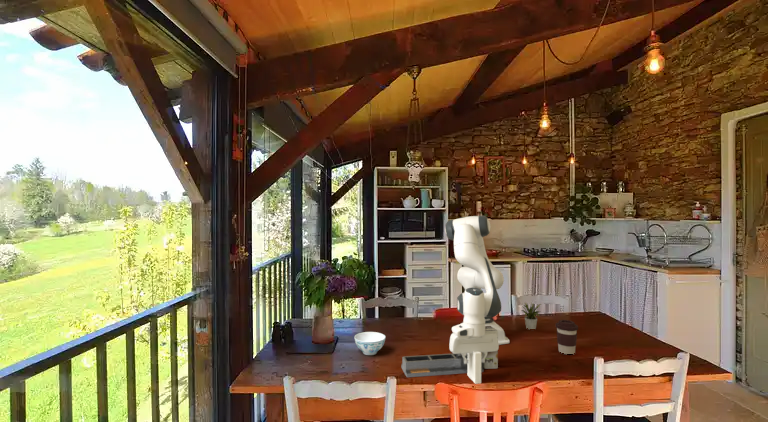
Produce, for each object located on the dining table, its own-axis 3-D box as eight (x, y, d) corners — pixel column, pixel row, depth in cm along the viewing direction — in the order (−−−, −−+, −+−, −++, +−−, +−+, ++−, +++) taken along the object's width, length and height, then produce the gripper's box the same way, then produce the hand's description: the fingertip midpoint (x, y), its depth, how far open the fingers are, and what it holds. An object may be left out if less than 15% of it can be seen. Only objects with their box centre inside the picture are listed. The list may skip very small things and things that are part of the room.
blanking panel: (467, 375, 158) (467, 346, 158) (473, 374, 158) (473, 346, 159) (475, 383, 150) (475, 353, 150) (481, 383, 151) (481, 353, 151)
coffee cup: (576, 350, 188) (576, 320, 188) (579, 357, 178) (579, 325, 179) (554, 347, 191) (554, 318, 191) (556, 354, 182) (556, 323, 182)
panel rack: (473, 362, 171) (474, 332, 171) (483, 371, 161) (483, 340, 161) (401, 367, 165) (401, 336, 166) (406, 377, 156) (406, 344, 156)
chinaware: (386, 358, 176) (386, 341, 176) (354, 358, 175) (354, 342, 175) (384, 346, 191) (384, 331, 191) (354, 347, 190) (354, 332, 190)
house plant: (513, 329, 222) (513, 301, 222) (518, 323, 233) (518, 297, 233) (539, 333, 214) (539, 304, 214) (543, 327, 226) (543, 299, 226)
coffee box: (498, 368, 165) (498, 331, 165) (484, 369, 164) (484, 332, 164) (490, 360, 174) (490, 325, 174) (477, 361, 173) (477, 325, 174)
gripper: (494, 325, 159) (494, 358, 159) (448, 327, 156) (447, 361, 156) (501, 329, 153) (501, 364, 153) (453, 332, 150) (453, 367, 150)
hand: (474, 362), depth 154 cm, fingers open, 5 cm apart
